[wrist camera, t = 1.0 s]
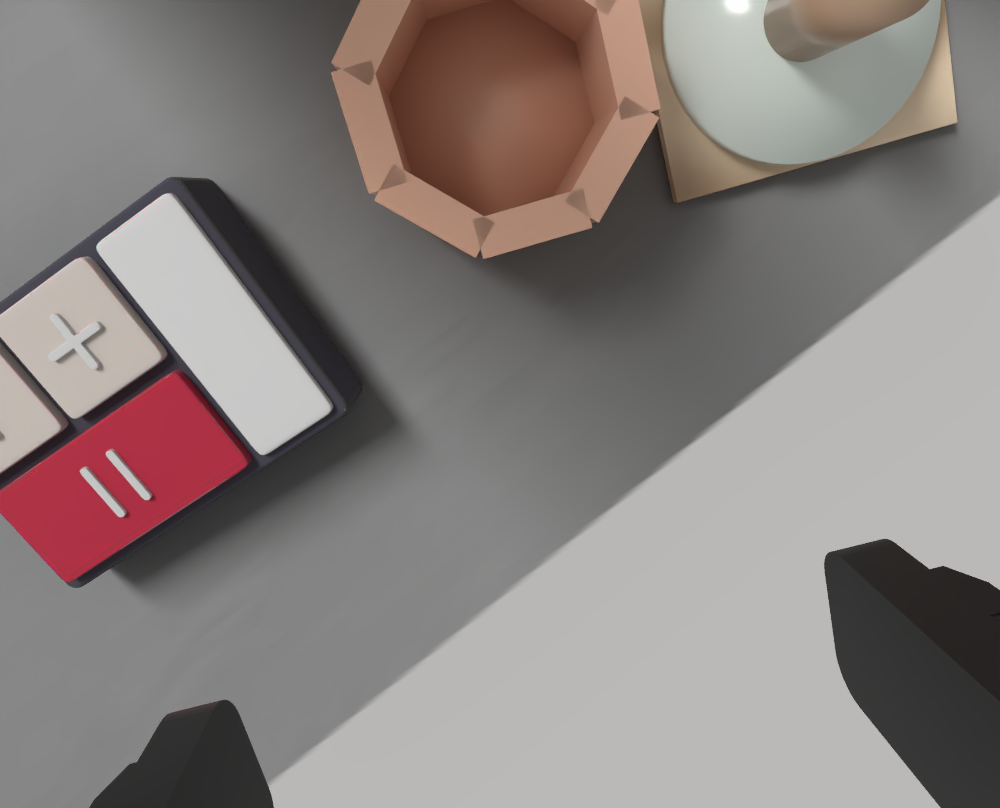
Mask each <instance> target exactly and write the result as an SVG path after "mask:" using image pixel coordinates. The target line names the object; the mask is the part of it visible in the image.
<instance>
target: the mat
mask: <svg viewBox="0 0 1000 808" xmlns="http://www.w3.org/2000/svg"><path fill="white" fill-rule="evenodd" d="M639 5H640V10H641V15H642V20H643V25H644V30H645V34H646V39H647V44H648V49H649V54H650V59H651V64H652V69H653V73H654V78H655V83H656V88H657V93H658V98H659V103H660V108H661V109H659V110H658V111H656V112H655V115H656V116H657V117H659V119H658V121H657V126H658V131H659V135H660V140H661V145H662V150H663V155H664V159H665V164H666V169H667V174H668V179H669V184H670V188H671V193H672V198H673V203H679V202H683V201H686V200H690V199H693V198H697V197H700V196H704V195H707V194H711V193H714V192H718V191H721V190H724V189H728V188H731V187H735V186H738V185H742V184H745V183H749V182H752V181H756V180H759V179H763V178H766V177H770V176H773V175H777V174H780V173H784V172H787V171H791V170H794V169H797V168H801V167H804V166H808V165H811V164H815V163H818V162H822V161H825V160H829V159H832V158H836V157H839V156H843V155H846V154H850V153H853V152H857V151H860V150H864V149H867V148H870V147H874V146H877V145H881V144H884V143H888V142H891V141H895V140H898V139H902V138H905V137H909V136H912V135H916V134H919V133H923V132H926V131H930V130H933V129H937V128H940V127H943V126H947V125H950V124H954V123H957V114H956V104H955V95H954V85H953V75H952V66H951V56H950V47H949V37H948V27H947V18H946V8H945V0H941V8H940V19H939V25H938V30H937V36H936V39H935V43H934V46H933V49H932V53H931V56H930V58H929V61H928V63H927V65H926V68H925V70H924V72H923V75H922V76H921V78H920V80H919V82H918V84H917V85H916V87H915V89H914V91H913V92H912V94H911V95H910V96H909V98H908V99H907V101H906V102H905V103H904V105H903V106H902V107H901V109H900V110H899V111H898V112H897V113H896V114H895V115H894V116H893V117H892V118H891V120H890V121H889V122H888V123H887V124H885V125H884V126H883V127H882V128H881V129H880V130H878V131H877V132H876V133H875V134H874V135H872V136H871V137H869V138H868V139H866V140H865V141H863V142H862V143H861V144H859V145H857V146H855V147H853V148H851V149H849V150H847V151H845V152H844V153H841V154H838V155H836V156H833V157H830V158H827V159H824V160H819V161H814V162H810V163H804V164H795V165H769V164H763V163H758V162H753V161H749V160H746V159H744V158H741V157H738V156H736V155H734V154H732V153H730V152H728V151H726V150H724V149H722V148H721V147H719V146H718V145H717V144H715V143H714V142H712V141H711V140H710V139H708V138H707V137H706V136H705V135H704V134H703V133H702V132H701V131H700V130H699V129H698V128H697V127H696V126H695V125H694V124H693V122H692V121H691V120H690V118H689V117H688V116H687V114H686V113H685V112H684V110H683V108H682V107H681V105H680V103H679V101H678V100H677V98H676V96H675V94H674V91H673V89H672V86H671V84H670V81H669V79H668V75H667V71H666V67H665V64H664V59H663V52H662V45H661V15H662V5H663V0H639Z"/></svg>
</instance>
